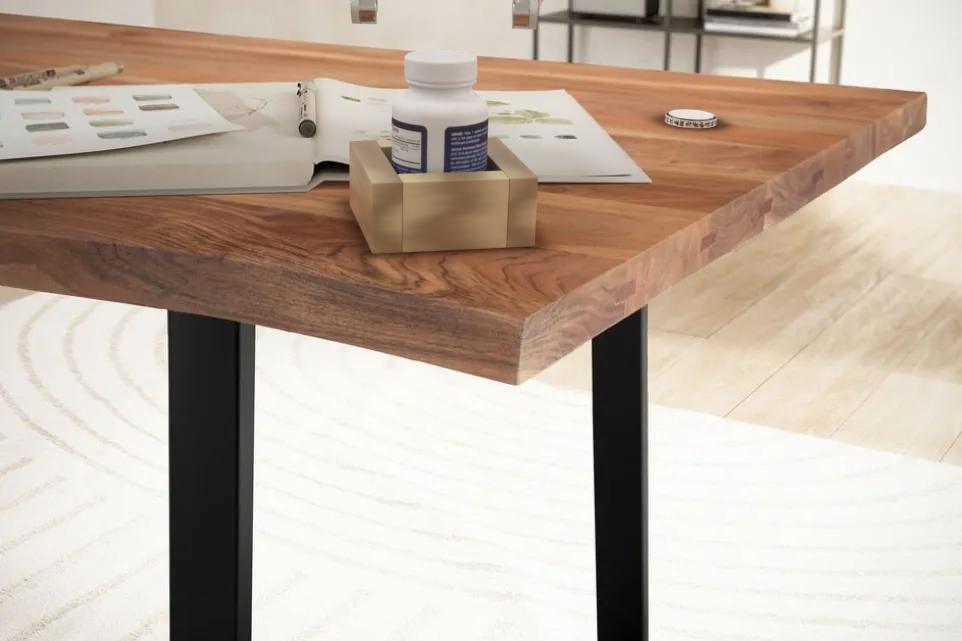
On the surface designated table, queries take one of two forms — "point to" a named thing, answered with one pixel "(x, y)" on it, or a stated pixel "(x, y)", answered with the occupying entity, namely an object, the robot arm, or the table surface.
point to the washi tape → (690, 118)
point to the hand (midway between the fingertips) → (444, 20)
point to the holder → (442, 202)
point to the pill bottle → (439, 115)
